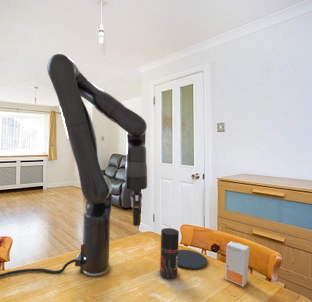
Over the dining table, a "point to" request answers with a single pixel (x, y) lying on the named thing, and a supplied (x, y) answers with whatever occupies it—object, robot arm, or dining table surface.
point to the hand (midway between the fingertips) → (136, 221)
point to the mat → (191, 260)
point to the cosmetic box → (237, 263)
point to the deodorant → (169, 253)
